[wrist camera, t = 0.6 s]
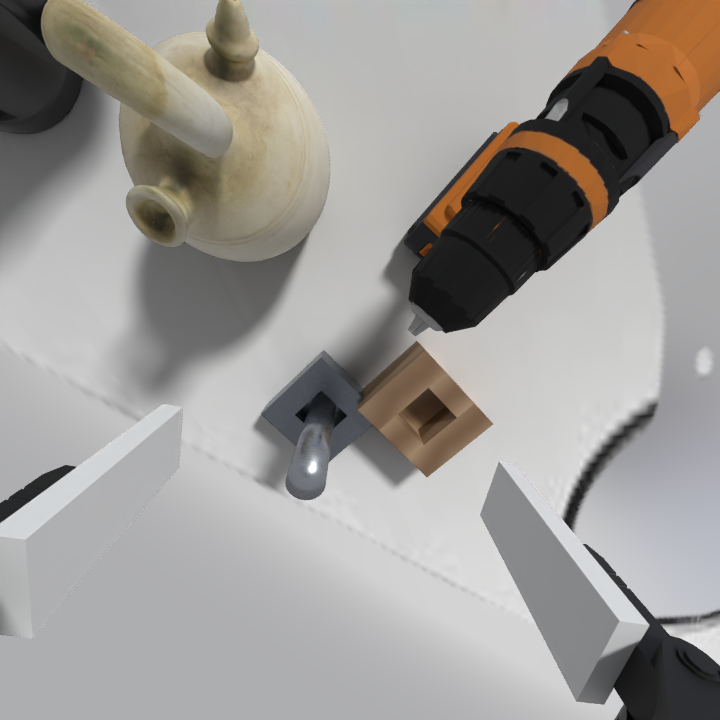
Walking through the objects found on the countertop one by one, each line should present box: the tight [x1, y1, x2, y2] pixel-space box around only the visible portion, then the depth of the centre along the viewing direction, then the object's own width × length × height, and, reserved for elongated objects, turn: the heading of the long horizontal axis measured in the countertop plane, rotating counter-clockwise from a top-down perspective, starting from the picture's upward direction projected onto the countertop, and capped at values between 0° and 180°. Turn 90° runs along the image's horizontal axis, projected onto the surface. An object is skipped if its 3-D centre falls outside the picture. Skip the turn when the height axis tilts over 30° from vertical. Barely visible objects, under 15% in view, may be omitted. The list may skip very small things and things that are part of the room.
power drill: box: [404, 0, 720, 336], centre depth 26 cm, size 22×7×25 cm, turn 138°
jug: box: [41, 0, 330, 262], centre depth 24 cm, size 15×16×25 cm
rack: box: [358, 341, 493, 477], centre depth 40 cm, size 12×10×5 cm
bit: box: [285, 394, 336, 500], centre depth 35 cm, size 3×3×16 cm
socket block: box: [261, 350, 372, 462], centre depth 41 cm, size 10×10×4 cm
